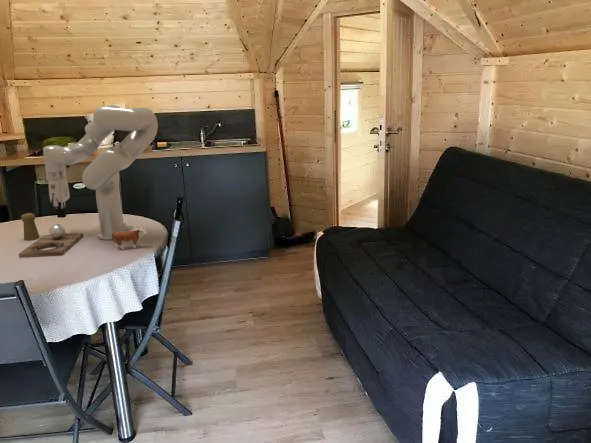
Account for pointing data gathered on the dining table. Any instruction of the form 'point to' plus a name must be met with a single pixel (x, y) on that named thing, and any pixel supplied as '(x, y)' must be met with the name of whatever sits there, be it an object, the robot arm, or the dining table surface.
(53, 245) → the board
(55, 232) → the ball
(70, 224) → the dining table surface
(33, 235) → the cork
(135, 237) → the bull figurine
